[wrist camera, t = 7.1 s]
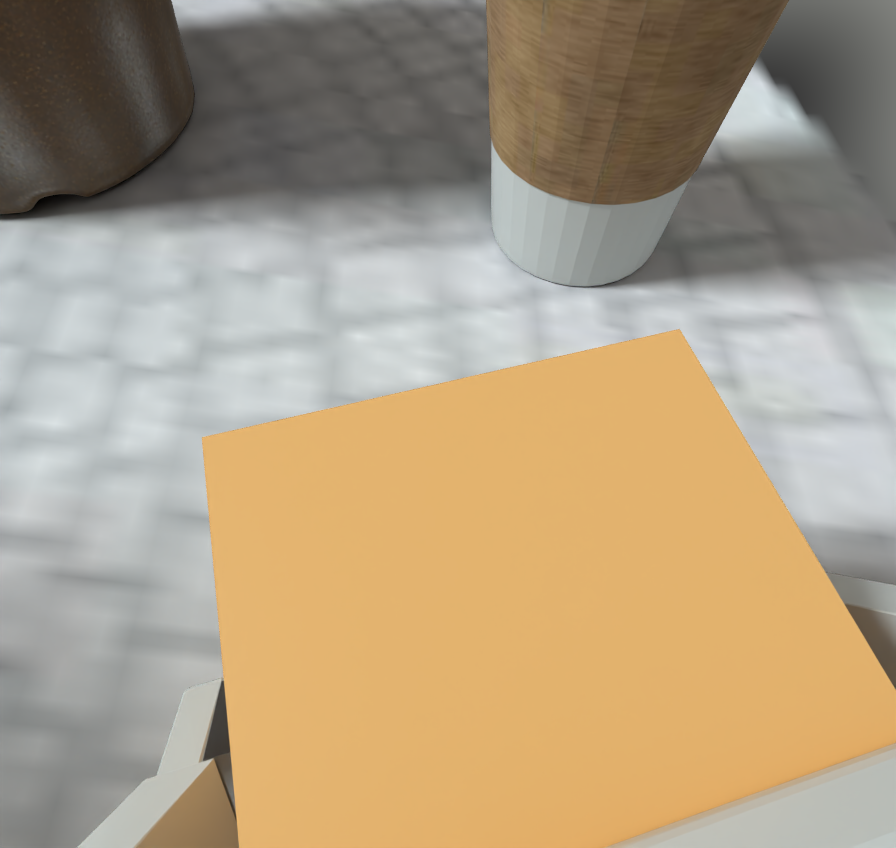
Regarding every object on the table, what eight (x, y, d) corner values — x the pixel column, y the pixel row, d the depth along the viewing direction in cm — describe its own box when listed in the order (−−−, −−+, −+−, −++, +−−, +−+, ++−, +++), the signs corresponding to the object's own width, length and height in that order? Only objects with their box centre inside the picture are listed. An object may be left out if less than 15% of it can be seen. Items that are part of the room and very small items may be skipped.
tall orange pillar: (385, 911, 11) (271, 1203, 4) (332, 623, 14) (201, 437, 6) (649, 817, 12) (1016, 891, 4) (553, 561, 15) (679, 328, 7)
